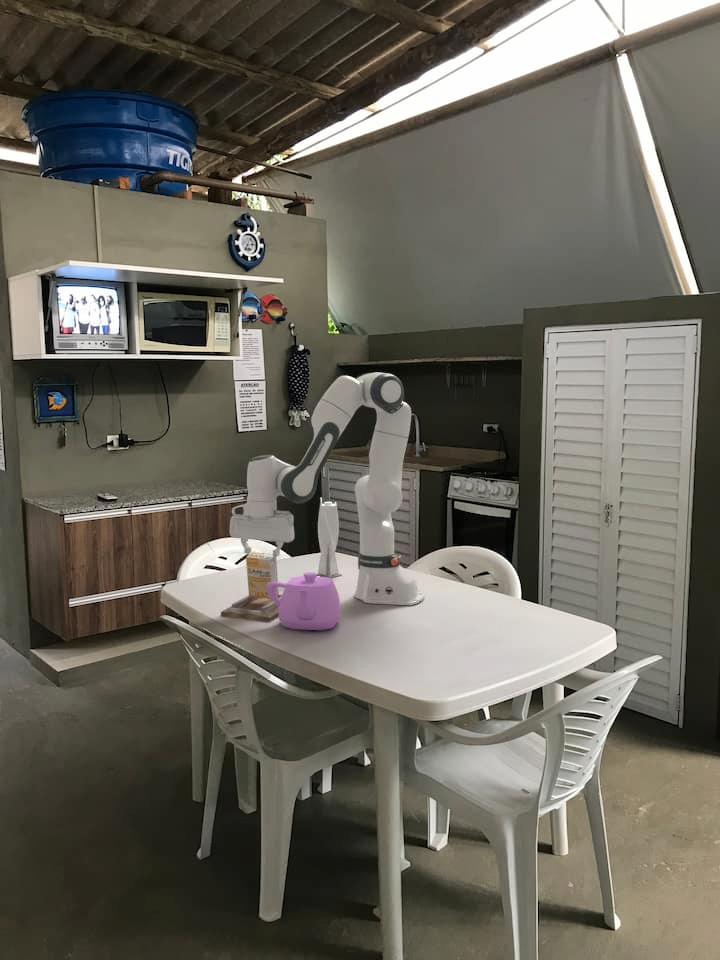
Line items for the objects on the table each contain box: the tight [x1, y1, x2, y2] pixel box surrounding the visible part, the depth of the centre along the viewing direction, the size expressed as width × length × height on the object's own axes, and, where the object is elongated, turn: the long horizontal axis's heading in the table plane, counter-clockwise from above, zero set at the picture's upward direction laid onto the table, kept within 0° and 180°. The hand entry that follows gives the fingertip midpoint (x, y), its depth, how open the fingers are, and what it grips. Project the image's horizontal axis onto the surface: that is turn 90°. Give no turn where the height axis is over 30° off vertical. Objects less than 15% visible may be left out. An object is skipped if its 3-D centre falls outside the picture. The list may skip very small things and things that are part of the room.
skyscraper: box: [316, 497, 343, 579], centre depth 275 cm, size 8×8×28 cm
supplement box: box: [245, 551, 280, 599], centre depth 234 cm, size 8×5×13 cm, turn 70°
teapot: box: [267, 571, 342, 632], centre depth 215 cm, size 23×21×15 cm
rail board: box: [220, 593, 283, 623], centre depth 234 cm, size 16×22×3 cm
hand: (261, 554), depth 232 cm, fingers closed on supplement box, 8 cm apart
